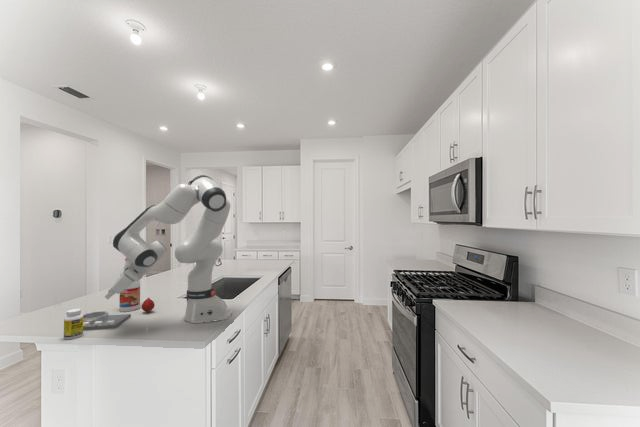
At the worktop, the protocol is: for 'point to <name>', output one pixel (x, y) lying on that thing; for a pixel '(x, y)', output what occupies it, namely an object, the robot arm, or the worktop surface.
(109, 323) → the plate
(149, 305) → the strawberry
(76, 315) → the pill bottle
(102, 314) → the lockout collar
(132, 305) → the fruit juice
